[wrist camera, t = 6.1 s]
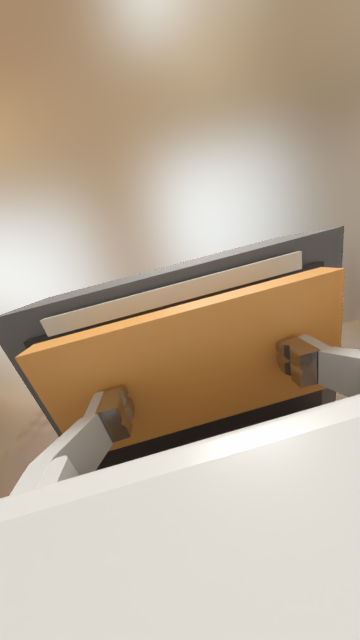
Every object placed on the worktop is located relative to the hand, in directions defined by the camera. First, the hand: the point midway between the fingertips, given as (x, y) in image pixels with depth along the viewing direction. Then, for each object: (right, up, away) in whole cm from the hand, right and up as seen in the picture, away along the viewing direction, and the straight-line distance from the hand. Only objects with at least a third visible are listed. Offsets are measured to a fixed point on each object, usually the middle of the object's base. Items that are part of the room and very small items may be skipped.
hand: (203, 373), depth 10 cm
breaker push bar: (0, -3, +3) cm, 4 cm away
